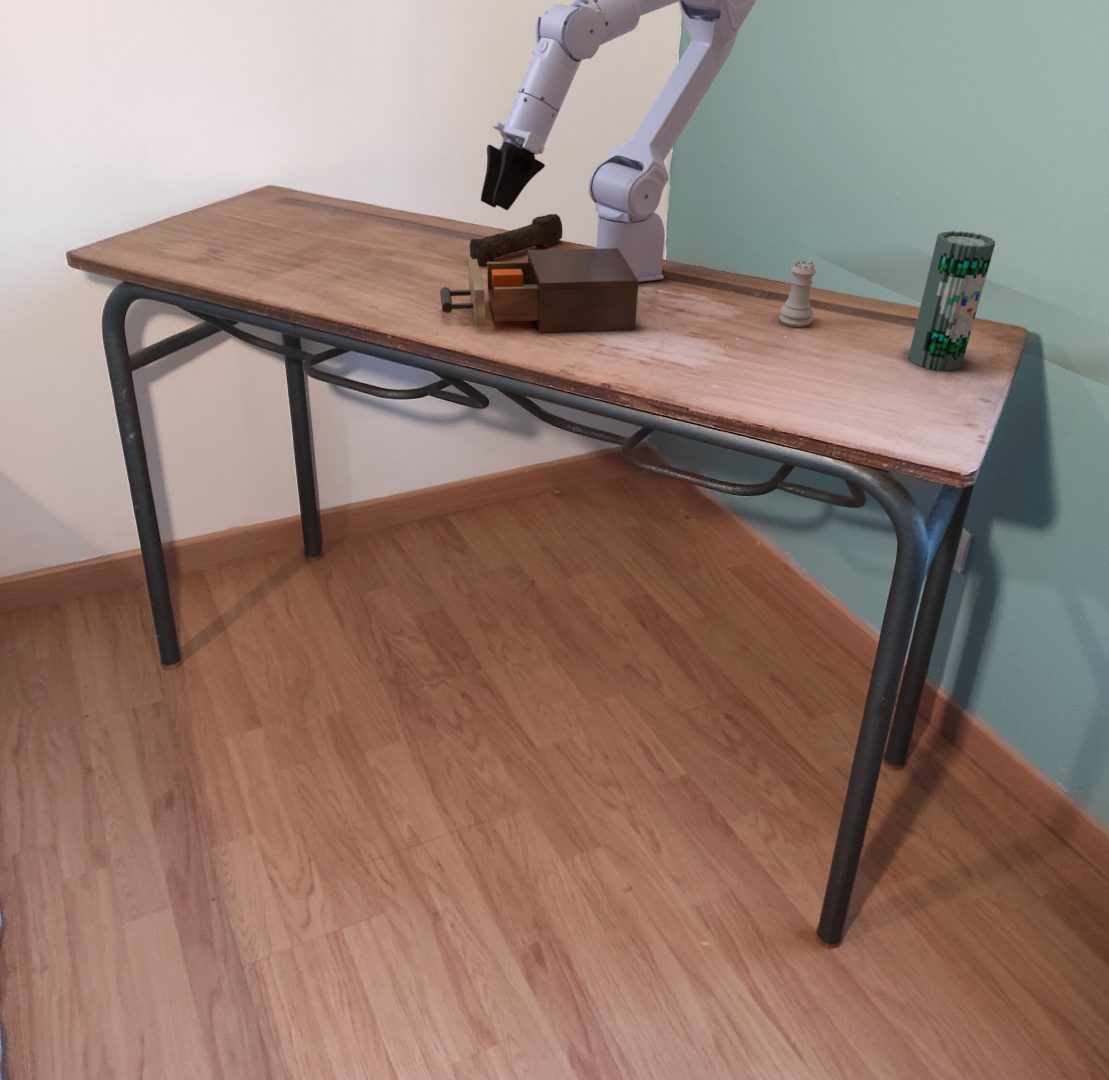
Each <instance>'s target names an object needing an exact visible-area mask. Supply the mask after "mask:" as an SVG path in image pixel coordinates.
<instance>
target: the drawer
mask: <svg viewBox="0 0 1109 1080" xmlns="http://www.w3.org/2000/svg"><path fill="white" fill-rule="evenodd" d="M467 265H468V266H467V267H468V289H457V290H455V289H454V290H453V289H450V288H448V287H447V286H444V287H441V288H440V291H439V295H440V303H441V310H442V311H443V312H444V313H446V314H450V313H452V311H453V310H472V314H473V320H474V324H475V327H485V326H486V308H485V307H486V306H485V302H486V301H485V300H486V299H485V287H484V283H483V278H482V274H481V270H480V264H478V261H477V259H472V258H470V259H469V258H468V263H467ZM494 269H521V270H522V273H523V285H533V284H537V285H538V286H524V287H494V298H493V295H492V270H494ZM486 273H487V274H486V275H487V276H486V277H487V278H486V279H487V281H486V282H487V296H488V299H489V304H490V309H491V312H492V316H493V321H494V322H523V321H528V322H529V321H536V320H539V291H540V286H539V284H538V281H537V278H536V276H535V273H534V270H533V268H532V265H531V263H530V261H528V260H515V261H514V260H513V261H511V260H510V261H493V262H490V261H488V262H487V263H486ZM466 296H468V297H469V299H470V302H460V303H459V302H458V303H457V302H456V303H453V300H452V297H466Z"/></svg>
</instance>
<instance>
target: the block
mask: <svg viewBox="0 0 1109 1080" xmlns="http://www.w3.org/2000/svg"><path fill="white" fill-rule="evenodd" d="M524 286H538V285H537V284H533V285H523V273H522V270H521V269H494V270H492V295H493V298H494V287H524Z"/></svg>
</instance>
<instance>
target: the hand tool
mask: <svg viewBox="0 0 1109 1080" xmlns="http://www.w3.org/2000/svg"><path fill="white" fill-rule="evenodd" d="M562 238H563V223H562V219H561V217H560V215H558V214H557V213H549V214H545V215H541V216H536V217H534V218H533V219H532V220H531V224H530V223H529V224H528V225H524V226H522V227H518V228H515V229H512V230H508V231H505V232H500V233H496V234H492V235H489V236H485V237H482V238H471V239H470V242H469V256H470V259H477V261H478V265H482V266H483V265H487V262H495V259H498V258H501V257H505V256H507V255H511V254H515V253H517V252H521V251H524V250H527V249H530V248H533V247H535V248H538V249H545V248H548V247H551V246H552V245H555V244H556V243H557V242H559V241H560V240H562Z"/></svg>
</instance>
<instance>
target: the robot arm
mask: <svg viewBox="0 0 1109 1080" xmlns="http://www.w3.org/2000/svg"><path fill="white" fill-rule="evenodd" d="M676 3H678V5H679V8H680V12H681V15H682V19H683V22H684V26H685V29H686V32H687V33H688V34H689V37H690V43H689V44H688V46H687V48H686V49H685V51H684V53H683V55H682V56H681V57H680V59H679V61H678V62H677V64H676V66H675V68H673V71H672V72H671V74H670V75H669V76H668V79H667V80H666V82H665V83H664V85H663V87H662V89H661V90H660V91H659V93H658V95H657V96H656V98H655V100H654V101H653V103H652V105H651V106H650V108H649V110H648V111H647V113H646V114H645V116H644V118H643V119H642V121H641V123H640V124H639V126H638V127H637V129H636V131H635V133H634V134H633V135H632V137H631V138H630V140H628V141H626V142H624V143H622V144H620V145H617V146H616V147H614V148H612V149H611V150H610V152H609V154H608V155H607V156H606V158H605V159H604V160H602V161H600V162H599V163H598V164H597V165H596V166H595V167H594V169H593V170H592V171H591V174H590V176H589V180H588V194H589V197H590V199H591V200H592V202H593V203H595V211H596V212H597V234H596V249H607V248H618V249H619V251H620V252H621V254H622V256H623V257H624V259H625V260H626V262H627V263H628V265H629V267H630V268H631V270H632V271H633V273H634V274H635V276H636V277H637V279H638V281H639V282H638V283H642V282H651V281H659V280H664V278H665V276H664V274H662V272H663V261H664V260H663V259H664V247H665V235H666V234H665V226H664V222H663V219H662V218H661V216H660V214H658V213H657V212H656V210H657V208H658V206H659V205H660V202H661V198H662V194H663V191H664V188H665V186H666V185H667V182H669V180H670V177H669V173H668V170H667V168H666V164H665V162H664V161H665V160H666V158H667V157H668V155H669V153H670V152H671V150H672V148H673V147H674V146H675V144H676V143H677V140H678V139H679V137H680V135H681V134H682V133H683V131H684V129H685V127H686V126H687V124H688V123H689V121H690V119H691V118H692V116H693V115H694V113H695V111H696V110H697V108H698V107H699V105H700V103H701V101H702V100H703V98H704V97H705V95H706V94H707V92H708V90H709V89H710V87H711V86H712V84H713V82H714V80H715V79H716V77H718V74H719V72H720V71H721V69H722V68H723V66H724V65H725V63H726V61H727V59H728V58H729V57H730V55H731V53H732V51H733V48H734V46H735V42H736V39H737V37H738V34H739V30H740V28H741V27H742V25H743V24H744V23H745V22H744V21H746V19H747V17H748V15H749V14H750V13H751V11H752V9H753V7H754V6H755V4H756V0H574V1H573V2H572V3H571V4H570V5H565V4H553V5H552V6H550V7H549V8H547V9H546V10H545V13H544V14H543V15H542V16H538V17H537V19H536V24H535V45H534V47H533V50H532V52H531V53H532V57H531V60H530V62H529V65H528V67H527V69H526V72H525V74H524V77H523V79H522V81H521V83H520V85H519V88H518V90H517V93H516V95H515V98H514V100H513V102H512V104H511V107H510V109H509V111H508V113H507V116H506V119H505V121H504V123H501V122H499V121H494V122H493V125H492V128H493V129H495V130H497V131H498V132H499V134H500V136H501V138H502V139H501V141H500V143H499V145H498V148H497V147H495V146H493V145H491V144H487V147H486V171H485V176H484V181H483V186H482V190H481V195H480V202H482V203H483V204H486V205H488V206H489V207H492V208H494V209H495V208H496V207H499V208H501V209H503V210H505V211H509V209H510V208H511V207H512V206H513V205H514V203H515V201H516V200H517V199H518V197H519V196H520V194H521V193H522V192H523V190H524V189H525V187H526V186H527V185H528V183H529V182H530V181H531V180H532V179H533V178H534V177H535V176H536V175H537V174H538V173H539V172H541V171H542V170H543V169H544V168H545V167H546V164H545V163H543V162H542V161H540V160H538V159H536V156H537V155H542V154H543V153H544V151H545V145H546V142H547V140H548V138H549V136H550V133H551V131H552V129H553V127H554V125H555V123H556V120H557V117H558V114H559V113H560V110H561V108H562V107H563V104H564V101H565V100H566V97H567V94H568V92H569V91H570V88H571V86H572V83H573V81H574V79H575V76H576V74H577V71H578V69H579V67H580V65H581V62H582V61H584V60H587V59H588V60H591V59H592V58H593V57H595V55H596V53H597V52H598V50H599V49H600V46H602V45H604V44H606V43H608V42H611V41H613V40H614V39H617V38H619V37H621V36H624V35H626V34H628V33H630V32H633V31H634V30H635V29H636V28H637V26H638V25H639V22H640V19H641V17H642V16H645V15H646V14H649V13H652V12H655V11H657V10H660V9H663V8H666V7H668V6H670V5H673V4H676Z"/></svg>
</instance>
